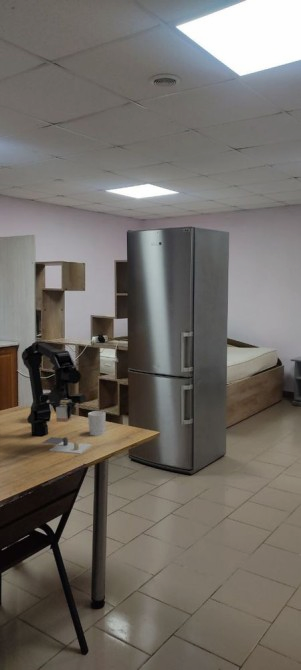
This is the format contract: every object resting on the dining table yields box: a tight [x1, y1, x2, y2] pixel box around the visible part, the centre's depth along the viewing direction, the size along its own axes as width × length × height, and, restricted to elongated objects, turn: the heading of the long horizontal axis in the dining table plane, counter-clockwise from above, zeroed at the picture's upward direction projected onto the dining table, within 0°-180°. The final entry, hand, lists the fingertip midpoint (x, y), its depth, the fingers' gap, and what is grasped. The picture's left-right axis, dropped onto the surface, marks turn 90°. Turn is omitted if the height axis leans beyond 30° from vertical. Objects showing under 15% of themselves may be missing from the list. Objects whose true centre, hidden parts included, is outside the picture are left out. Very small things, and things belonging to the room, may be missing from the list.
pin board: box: [48, 437, 93, 455], centre depth 208 cm, size 14×11×4 cm
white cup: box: [87, 410, 107, 437], centre depth 228 cm, size 8×8×10 cm
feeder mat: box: [42, 436, 64, 445], centre depth 219 cm, size 8×8×1 cm
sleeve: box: [55, 404, 72, 423], centre depth 211 cm, size 4×4×6 cm
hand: (63, 418), depth 211 cm, fingers closed on sleeve, 4 cm apart
